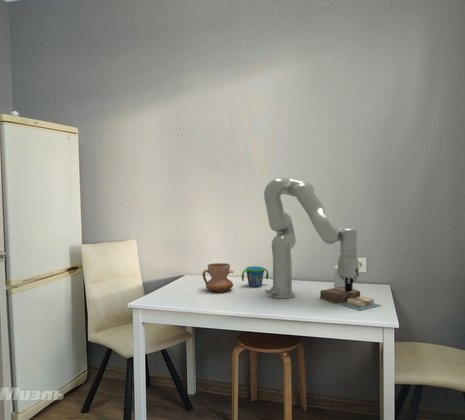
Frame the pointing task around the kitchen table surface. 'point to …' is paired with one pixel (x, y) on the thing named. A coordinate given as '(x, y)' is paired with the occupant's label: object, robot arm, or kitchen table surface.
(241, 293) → the kitchen table surface
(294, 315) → the kitchen table surface
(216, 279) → the ceramic jug
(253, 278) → the snack cup
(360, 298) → the birch tile
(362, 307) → the slate mat
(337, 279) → the white upright block
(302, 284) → the kitchen table surface
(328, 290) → the block
